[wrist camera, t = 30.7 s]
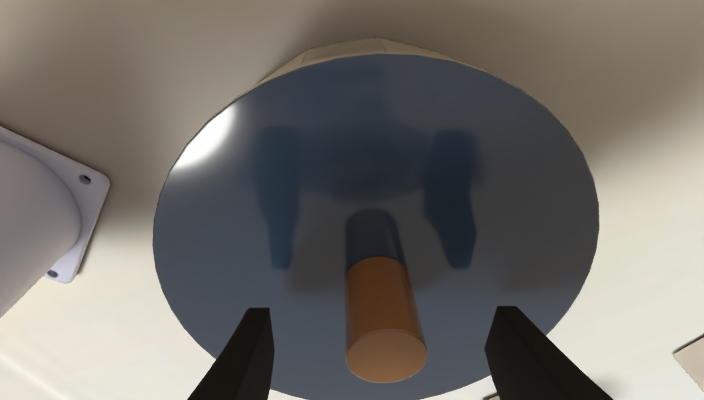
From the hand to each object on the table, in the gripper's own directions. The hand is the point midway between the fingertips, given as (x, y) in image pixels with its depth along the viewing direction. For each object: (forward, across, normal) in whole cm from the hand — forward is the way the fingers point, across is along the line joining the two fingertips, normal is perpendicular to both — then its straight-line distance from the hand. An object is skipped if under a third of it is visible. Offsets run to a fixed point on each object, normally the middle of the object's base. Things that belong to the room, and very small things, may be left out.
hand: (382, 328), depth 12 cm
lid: (+2, 0, 0) cm, 2 cm away
